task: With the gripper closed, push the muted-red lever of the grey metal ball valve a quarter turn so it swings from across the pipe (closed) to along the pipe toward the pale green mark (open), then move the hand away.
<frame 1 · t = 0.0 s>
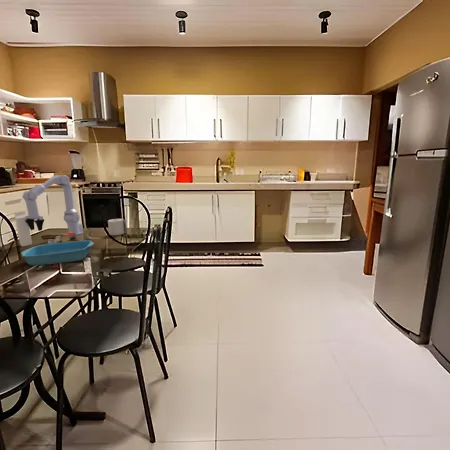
hand: (36, 230, 205), 10 cm above the table, tool pointing down, fingers open, 7 cm apart
milk: (26, 245, 209), on the table
casserole dish: (60, 259, 175), on the table
lever: (66, 234, 210), point 5 cm above the table, hinge at 0.0°
toilet tissue: (118, 233, 228), on the table
valve body: (63, 241, 213), on the table
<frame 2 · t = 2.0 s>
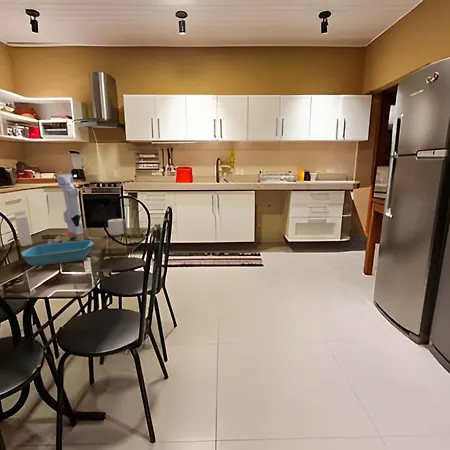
hand: (77, 226, 212), 10 cm above the table, tool pointing down, fingers closed
nothing on the table moved.
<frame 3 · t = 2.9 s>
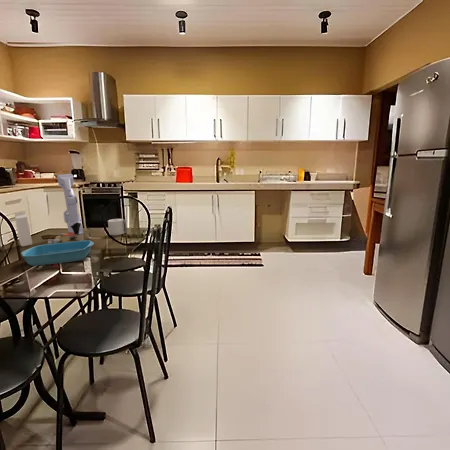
hand: (77, 234, 213), 4 cm above the table, tool pointing down, fingers closed
nothing on the table moved.
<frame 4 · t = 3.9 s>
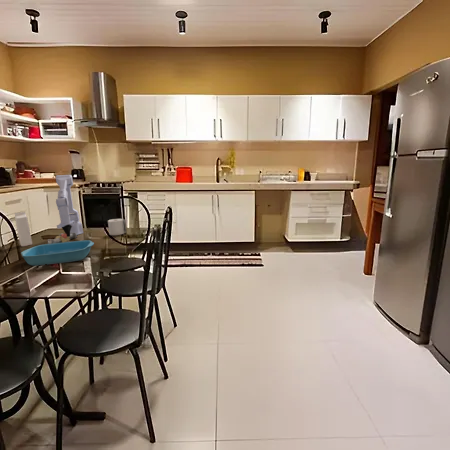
hand: (68, 236, 207), 5 cm above the table, tool pointing down, fingers closed, pressing on lever
lever: (63, 234, 208), point 5 cm above the table, hinge at 28.0°, touching gripper
everything else where it was.
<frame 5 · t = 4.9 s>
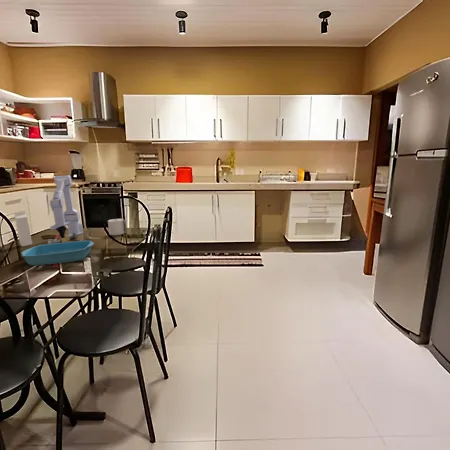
hand: (62, 237, 205), 4 cm above the table, tool pointing down, fingers closed, pressing on lever
lever: (60, 235, 207), point 5 cm above the table, hinge at 52.0°, touching gripper
everything else where it was.
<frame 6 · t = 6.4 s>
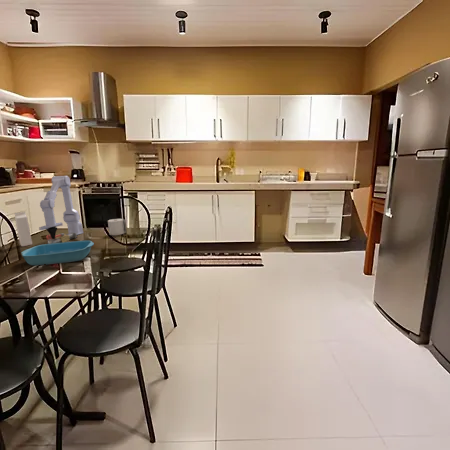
hand: (53, 238, 204), 4 cm above the table, tool pointing down, fingers closed, pressing on lever
lever: (55, 235, 208), point 5 cm above the table, hinge at 89.1°, touching gripper
everything else where it was.
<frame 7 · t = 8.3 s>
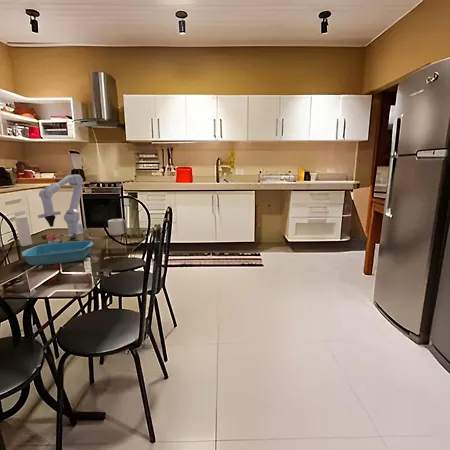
hand: (51, 226, 215), 10 cm above the table, tool pointing down, fingers closed
lever: (55, 235, 208), point 5 cm above the table, hinge at 89.2°
everything else where it was.
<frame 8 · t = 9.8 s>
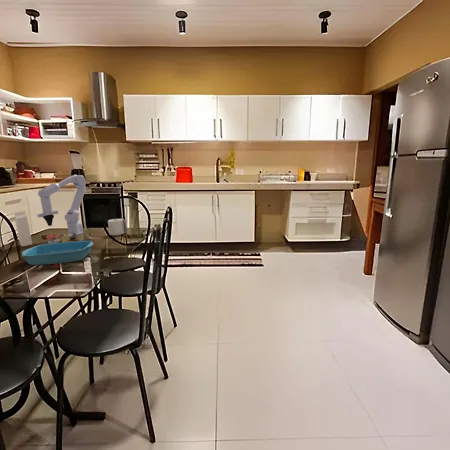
hand: (50, 225, 218), 10 cm above the table, tool pointing down, fingers closed
nothing on the table moved.
at the end: lever at +89° (first picture: +0°) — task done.
